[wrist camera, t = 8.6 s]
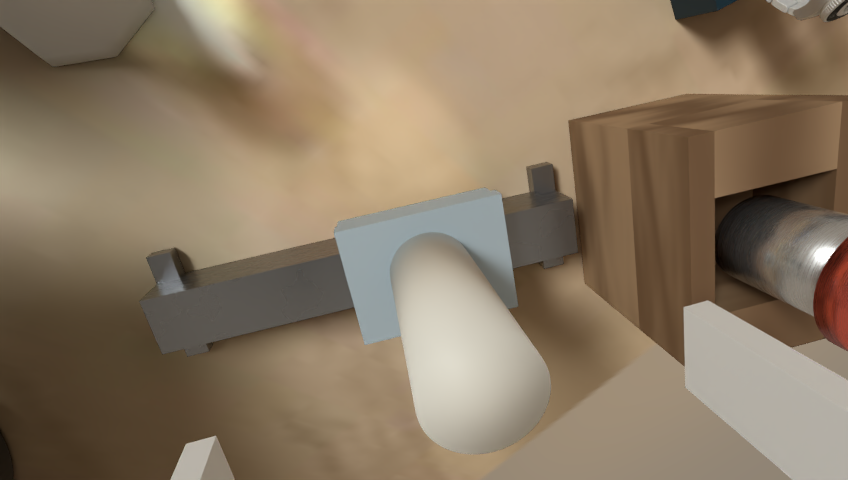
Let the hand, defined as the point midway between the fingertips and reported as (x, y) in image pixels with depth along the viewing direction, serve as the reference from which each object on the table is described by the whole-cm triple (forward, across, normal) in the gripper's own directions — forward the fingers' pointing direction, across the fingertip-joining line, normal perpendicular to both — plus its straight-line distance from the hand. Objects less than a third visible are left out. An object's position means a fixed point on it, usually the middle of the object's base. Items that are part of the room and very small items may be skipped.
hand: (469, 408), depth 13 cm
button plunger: (+6, +14, 0) cm, 15 cm away
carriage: (+14, +1, 0) cm, 14 cm away
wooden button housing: (+14, +14, 0) cm, 20 cm away
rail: (+15, -2, 0) cm, 15 cm away
